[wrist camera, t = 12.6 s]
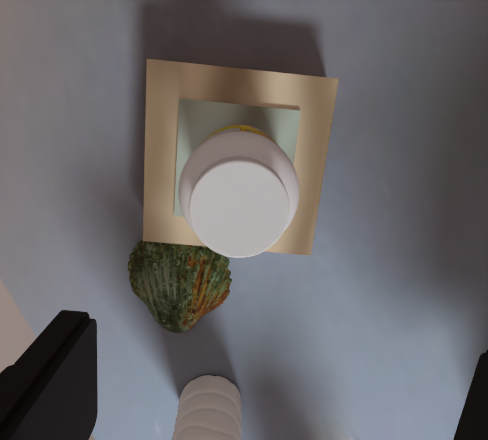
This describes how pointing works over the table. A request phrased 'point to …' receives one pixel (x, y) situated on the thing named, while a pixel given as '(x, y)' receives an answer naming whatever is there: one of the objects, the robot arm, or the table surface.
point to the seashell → (178, 282)
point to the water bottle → (209, 410)
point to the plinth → (225, 114)
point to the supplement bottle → (238, 191)
